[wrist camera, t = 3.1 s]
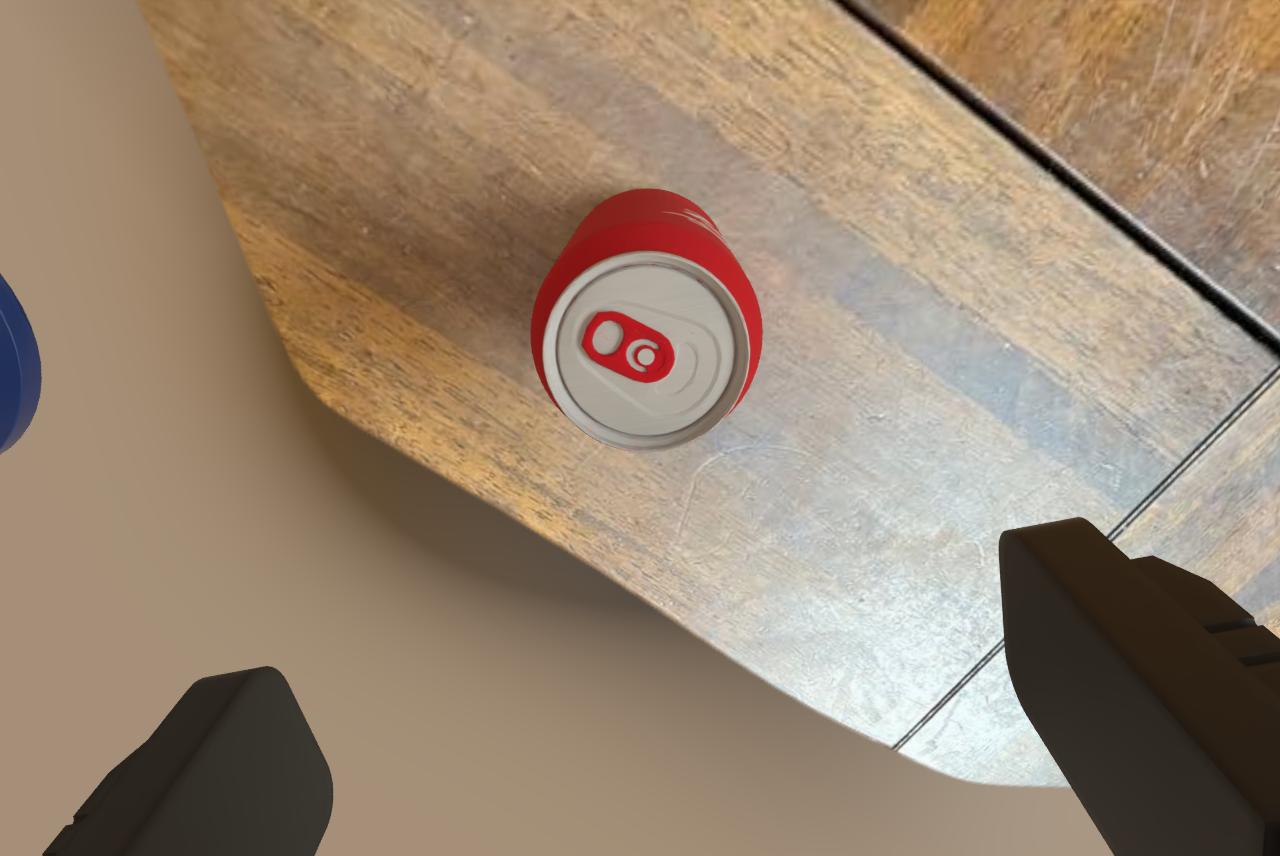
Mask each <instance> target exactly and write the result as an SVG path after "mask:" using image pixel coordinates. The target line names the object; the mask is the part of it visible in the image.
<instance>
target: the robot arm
mask: <svg viewBox="0 0 1280 856" xmlns="http://www.w3.org/2000/svg"><path fill="white" fill-rule="evenodd" d="M999 565H1000V581H1001V596H1002V611H1003V627H1004V642H1005V654H1006V660H1007V665H1008V670H1009V673H1010V677H1011V680H1012V683H1013V686H1014V689H1015V692H1016V694H1017V697H1018V699H1019V702H1020V704H1021V706H1022V708H1023V710H1024V712H1025V713H1026V715H1027V717H1028V718H1029V720H1030V722H1031V723H1032V725H1033V726H1034V728H1035V730H1036V731H1037V733H1038V734H1039V736H1040V738H1041V739H1042V741H1043V742H1044V744H1045V746H1046V747H1047V749H1048V750H1049V752H1050V754H1051V755H1052V757H1053V758H1054V760H1055V762H1056V763H1057V765H1058V766H1059V768H1060V769H1061V771H1062V773H1063V774H1064V776H1065V777H1066V779H1067V781H1068V782H1069V784H1070V785H1071V787H1072V789H1073V790H1074V792H1075V793H1076V795H1077V797H1078V798H1079V800H1080V801H1081V803H1082V805H1083V806H1084V808H1085V809H1086V811H1087V813H1088V814H1089V816H1090V817H1091V819H1092V821H1093V822H1094V824H1095V825H1096V827H1097V829H1098V830H1099V832H1100V833H1101V835H1102V836H1103V838H1104V840H1105V841H1106V843H1107V845H1108V846H1109V848H1110V849H1111V851H1112V852H1113V854H1114V856H1280V639H1279V638H1278V637H1277V636H1275V635H1274V634H1273V633H1272V632H1271V631H1269V630H1268V629H1267V628H1266V627H1265V626H1263V625H1261V626H1257V625H1256V623H1255V621H1254V617H1253V616H1251V615H1250V614H1249V613H1248V612H1247V611H1246V610H1244V609H1243V608H1242V607H1241V606H1240V605H1238V604H1237V603H1236V602H1235V601H1234V600H1232V599H1231V598H1230V597H1229V596H1228V595H1226V594H1225V593H1224V592H1223V591H1222V590H1220V589H1219V588H1218V587H1217V586H1216V585H1214V584H1213V583H1212V582H1211V581H1209V580H1207V579H1204V578H1202V577H1200V576H1198V575H1195V574H1193V573H1191V572H1189V571H1186V570H1184V569H1182V568H1180V567H1177V566H1175V565H1173V564H1171V563H1168V562H1166V561H1164V560H1162V559H1159V558H1157V557H1155V556H1147V557H1142V558H1136V559H1131V560H1130V559H1129V558H1128V557H1127V556H1126V555H1125V554H1124V553H1123V552H1122V551H1121V550H1120V549H1118V548H1117V547H1116V546H1115V545H1114V544H1113V543H1112V542H1111V541H1110V540H1109V539H1108V538H1107V537H1106V536H1104V535H1103V534H1102V533H1101V532H1100V531H1099V530H1098V529H1097V528H1096V527H1095V526H1094V525H1093V524H1092V523H1090V522H1089V521H1088V520H1086V519H1084V518H1081V517H1076V518H1071V519H1065V520H1060V521H1055V522H1049V523H1044V524H1039V525H1033V526H1028V527H1022V528H1017V529H1012V530H1007V531H1004V532H1003V533H1002V534H1001V536H1000V540H999ZM332 805H333V783H332V777H331V773H330V769H329V766H328V764H327V762H326V760H325V758H324V756H323V754H322V752H321V750H320V747H319V745H318V743H317V741H316V739H315V737H314V735H313V733H312V731H311V729H310V727H309V725H308V723H307V721H306V719H305V717H304V715H303V713H302V711H301V709H300V707H299V705H298V703H297V701H296V699H295V697H294V695H293V693H292V690H291V688H290V686H289V684H288V682H287V681H286V679H285V677H284V676H283V675H282V674H281V672H279V671H278V670H277V669H275V668H273V667H269V666H265V667H259V668H254V669H248V670H243V671H237V672H232V673H227V674H221V675H216V676H210V677H205V678H202V679H200V680H198V681H196V682H195V683H194V684H193V685H192V686H191V687H190V688H189V689H188V690H187V692H186V693H185V694H184V695H183V697H182V698H181V699H180V700H179V701H178V703H177V704H176V705H175V706H174V708H173V709H172V710H171V712H170V713H169V714H168V715H167V716H166V718H165V719H164V720H163V721H162V723H161V724H160V725H159V727H158V728H157V729H156V730H155V731H154V733H153V734H152V735H151V737H150V738H149V739H148V740H147V741H146V742H145V743H143V744H142V745H141V746H140V747H139V748H138V749H136V750H135V751H134V752H133V753H132V754H130V755H129V756H128V757H127V758H126V759H125V760H123V761H122V762H121V763H120V764H119V765H117V766H116V767H115V768H114V769H113V770H111V771H110V772H109V773H108V774H107V776H106V777H105V778H104V779H103V781H102V782H101V783H100V784H99V785H98V787H97V788H96V789H95V790H94V792H93V793H92V794H91V796H90V797H89V798H88V799H87V800H86V801H85V803H84V804H83V805H82V806H81V807H80V809H79V810H78V811H77V812H76V814H75V815H74V816H73V817H74V822H73V824H72V825H66V826H65V827H64V828H63V829H62V831H61V832H60V833H59V835H58V836H57V837H56V838H55V839H54V841H53V842H52V843H51V844H50V846H49V847H48V848H47V849H46V850H45V851H44V853H43V854H42V855H43V856H314V855H315V853H316V851H317V849H318V846H319V844H320V842H321V840H322V837H323V835H324V833H325V831H326V828H327V826H328V823H329V820H330V816H331V812H332Z"/></svg>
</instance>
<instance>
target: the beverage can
mask: <svg viewBox="0 0 1280 856" xmlns="http://www.w3.org/2000/svg"><path fill="white" fill-rule="evenodd" d="M762 334H763V330H762V318H761V313H760V308H759V304H758V301H757V298H756V295H755V292H754V290H753V288H752V286H751V284H750V282H749V280H748V278H747V276H746V275H745V273H744V271H743V270H742V268H741V266H740V265H739V263H738V261H737V260H736V258H735V257H734V255H733V253H732V252H731V250H730V248H729V247H728V245H727V243H726V242H725V240H724V238H723V237H722V235H721V233H720V232H719V230H718V229H717V227H716V225H715V224H714V223H713V221H712V220H711V219H710V217H709V216H708V215H707V214H706V213H705V212H704V211H703V210H702V209H701V208H699V207H698V206H697V205H696V204H694V203H693V202H691V201H690V200H688V199H686V198H684V197H682V196H680V195H678V194H675V193H672V192H669V191H665V190H659V189H636V190H630V191H626V192H623V193H620V194H617V195H615V196H613V197H611V198H609V199H607V200H605V201H604V202H602V203H601V204H599V205H598V206H597V207H596V208H594V209H593V210H592V211H591V212H590V213H589V214H588V215H587V216H586V217H585V219H584V220H583V221H582V222H581V224H580V225H579V227H578V228H577V230H576V231H575V233H574V235H573V236H572V238H571V239H570V241H569V242H568V244H567V245H566V247H565V249H564V250H563V252H562V253H561V255H560V256H559V258H558V259H557V261H556V263H555V264H554V266H553V267H552V269H551V270H550V272H549V273H548V275H547V277H546V278H545V280H544V282H543V284H542V286H541V288H540V290H539V293H538V296H537V298H536V301H535V305H534V309H533V314H532V319H531V347H532V354H533V359H534V363H535V366H536V370H537V373H538V375H539V377H540V380H541V382H542V384H543V386H544V388H545V390H546V391H547V393H548V395H549V397H550V398H551V399H552V401H553V402H554V403H555V405H556V406H557V407H558V408H559V410H560V411H561V412H562V413H563V414H564V415H565V416H566V417H568V418H569V419H570V420H571V421H572V423H573V424H575V425H576V426H577V427H578V428H579V429H580V430H582V431H583V432H584V433H586V434H587V435H589V436H590V437H592V438H594V439H596V440H597V441H599V442H601V443H603V444H606V445H609V446H611V447H614V448H617V449H622V450H626V451H633V452H660V451H667V450H671V449H675V448H678V447H681V446H684V445H687V444H689V443H691V442H693V441H695V440H697V439H699V438H701V437H703V436H704V435H705V434H707V433H708V432H710V431H711V430H712V429H714V428H715V427H716V426H717V425H718V424H719V423H720V422H721V421H722V420H723V419H724V418H725V417H727V416H728V415H729V414H730V413H731V412H732V411H733V409H734V408H735V407H736V406H737V405H738V403H739V402H740V401H741V400H742V398H743V396H744V395H745V393H746V392H747V390H748V389H749V386H750V384H751V382H752V380H753V378H754V375H755V373H756V370H757V367H758V363H759V359H760V354H761V349H762Z"/></svg>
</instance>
